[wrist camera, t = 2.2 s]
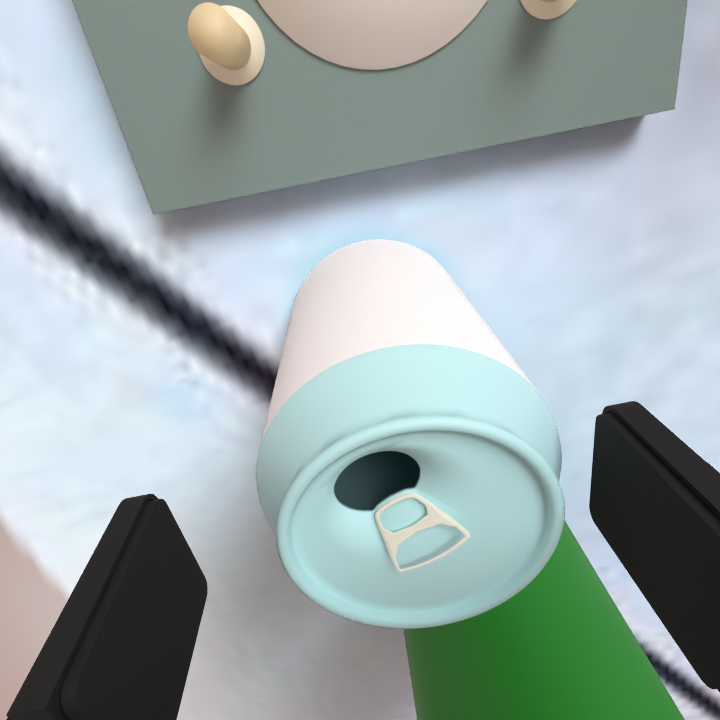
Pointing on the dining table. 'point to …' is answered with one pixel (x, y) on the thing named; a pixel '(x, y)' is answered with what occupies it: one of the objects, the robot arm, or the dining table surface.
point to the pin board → (363, 82)
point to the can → (405, 447)
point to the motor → (539, 655)
